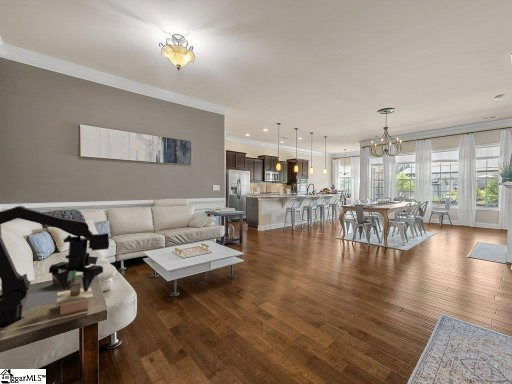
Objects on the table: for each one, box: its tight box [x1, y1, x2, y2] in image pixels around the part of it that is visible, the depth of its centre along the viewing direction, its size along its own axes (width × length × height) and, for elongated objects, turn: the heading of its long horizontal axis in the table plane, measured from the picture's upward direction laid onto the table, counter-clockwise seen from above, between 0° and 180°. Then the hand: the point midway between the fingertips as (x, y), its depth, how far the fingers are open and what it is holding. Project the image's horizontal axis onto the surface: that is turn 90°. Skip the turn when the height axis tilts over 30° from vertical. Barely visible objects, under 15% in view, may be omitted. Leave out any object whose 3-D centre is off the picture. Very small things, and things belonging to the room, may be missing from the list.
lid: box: [56, 282, 94, 307], centre depth 91 cm, size 11×11×5 cm
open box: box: [59, 300, 90, 315], centre depth 91 cm, size 8×8×4 cm
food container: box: [51, 271, 77, 288], centre depth 111 cm, size 12×6×10 cm, turn 84°
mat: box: [23, 287, 68, 309], centre depth 97 cm, size 13×13×1 cm
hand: (75, 290), depth 91 cm, fingers open, 9 cm apart
